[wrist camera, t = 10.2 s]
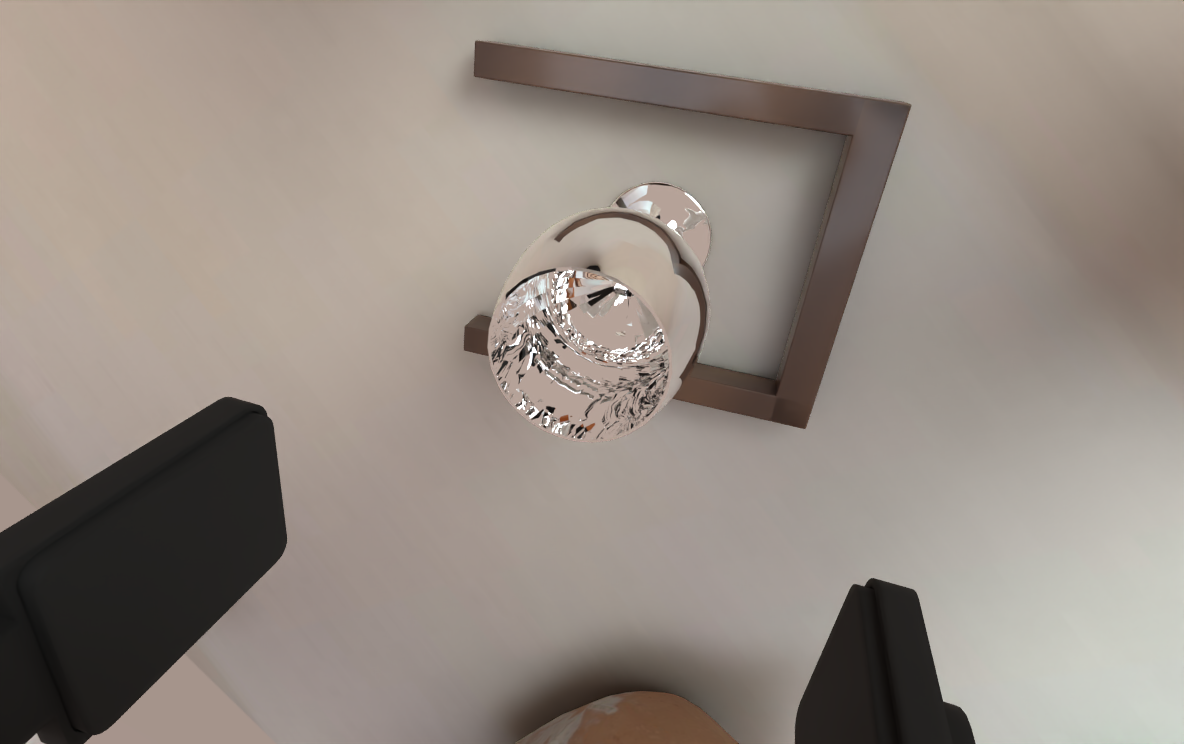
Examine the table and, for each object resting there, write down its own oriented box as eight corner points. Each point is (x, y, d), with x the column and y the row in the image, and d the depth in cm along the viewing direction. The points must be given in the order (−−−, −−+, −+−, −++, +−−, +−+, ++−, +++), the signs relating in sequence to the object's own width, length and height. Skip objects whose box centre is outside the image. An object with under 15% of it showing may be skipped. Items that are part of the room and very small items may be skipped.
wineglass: (563, 200, 26) (425, 294, 16) (695, 138, 24) (636, 200, 14) (621, 324, 28) (530, 483, 18) (749, 277, 26) (734, 427, 15)
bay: (903, 101, 22) (912, 104, 21) (804, 412, 28) (805, 429, 26) (490, 41, 24) (474, 40, 23) (476, 338, 30) (463, 350, 29)
